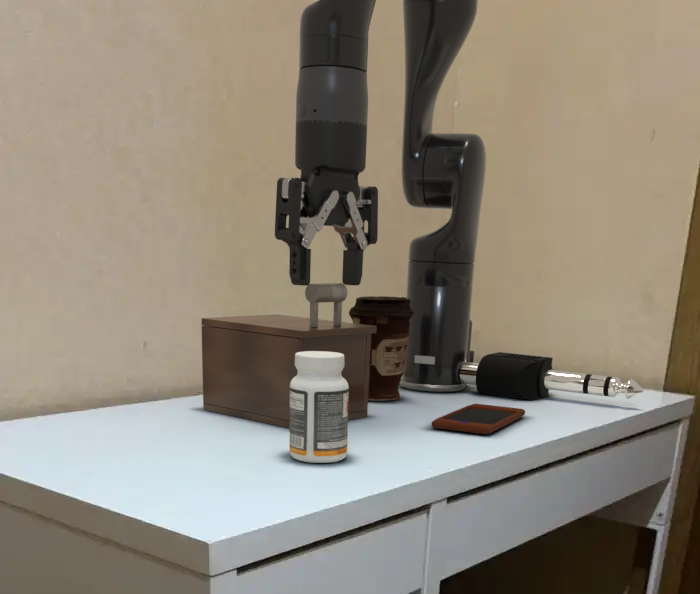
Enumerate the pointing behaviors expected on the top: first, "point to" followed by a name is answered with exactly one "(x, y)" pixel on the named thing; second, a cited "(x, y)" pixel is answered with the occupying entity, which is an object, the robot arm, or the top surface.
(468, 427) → the smartphone
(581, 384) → the audio adapter
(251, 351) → the walnut box
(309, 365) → the pill bottle
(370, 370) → the coffee cup
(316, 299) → the lid
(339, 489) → the top surface
